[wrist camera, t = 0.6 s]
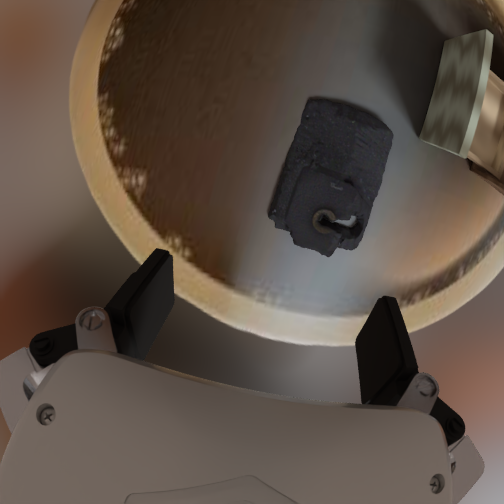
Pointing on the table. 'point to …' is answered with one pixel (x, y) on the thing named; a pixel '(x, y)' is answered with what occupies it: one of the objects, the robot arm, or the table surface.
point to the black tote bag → (331, 176)
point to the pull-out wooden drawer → (468, 104)
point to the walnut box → (489, 176)
